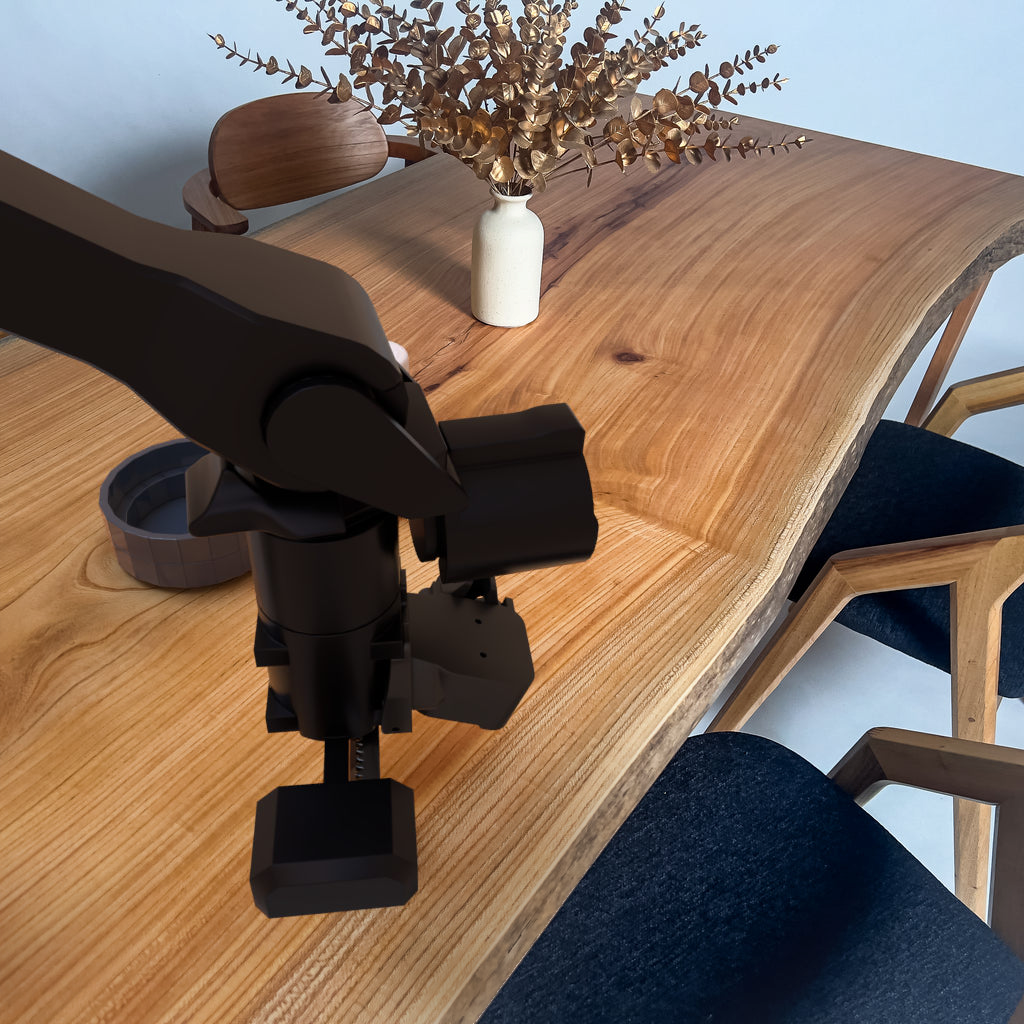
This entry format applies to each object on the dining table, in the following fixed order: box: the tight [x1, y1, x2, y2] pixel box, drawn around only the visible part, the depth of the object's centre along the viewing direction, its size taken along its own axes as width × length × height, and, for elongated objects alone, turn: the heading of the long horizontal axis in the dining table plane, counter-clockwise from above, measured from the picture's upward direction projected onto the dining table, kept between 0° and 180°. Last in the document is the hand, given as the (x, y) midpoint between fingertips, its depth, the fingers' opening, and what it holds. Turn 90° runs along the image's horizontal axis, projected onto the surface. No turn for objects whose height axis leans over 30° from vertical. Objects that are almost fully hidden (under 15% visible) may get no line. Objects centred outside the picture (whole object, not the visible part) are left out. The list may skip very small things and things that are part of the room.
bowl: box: [98, 437, 252, 589], centre depth 66 cm, size 12×12×5 cm
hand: (349, 808), depth 46 cm, fingers open, 8 cm apart
